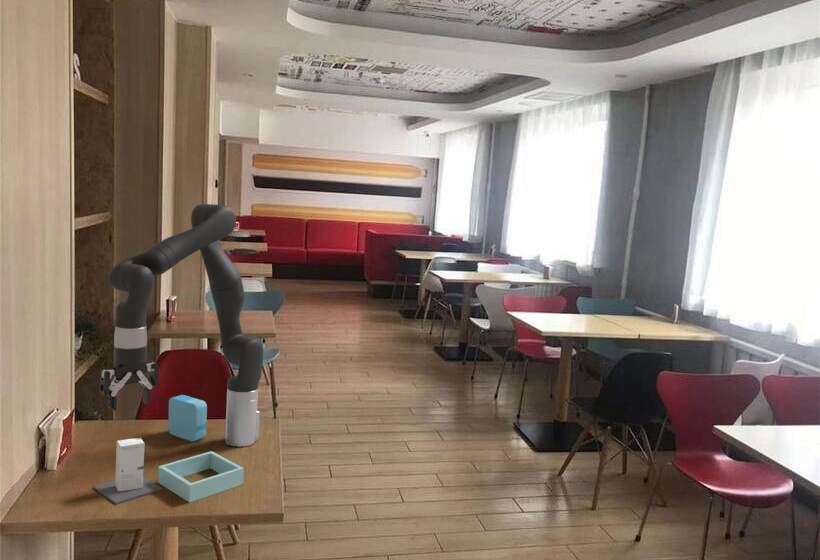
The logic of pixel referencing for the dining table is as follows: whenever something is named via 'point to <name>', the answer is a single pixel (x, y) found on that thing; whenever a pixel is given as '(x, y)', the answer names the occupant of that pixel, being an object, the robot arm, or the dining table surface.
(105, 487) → the mat
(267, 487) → the dining table surface
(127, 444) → the skincare box
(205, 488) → the bin
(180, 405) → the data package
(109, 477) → the dining table surface
